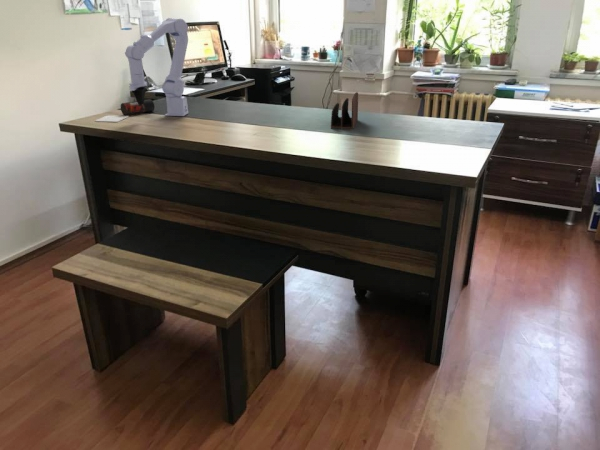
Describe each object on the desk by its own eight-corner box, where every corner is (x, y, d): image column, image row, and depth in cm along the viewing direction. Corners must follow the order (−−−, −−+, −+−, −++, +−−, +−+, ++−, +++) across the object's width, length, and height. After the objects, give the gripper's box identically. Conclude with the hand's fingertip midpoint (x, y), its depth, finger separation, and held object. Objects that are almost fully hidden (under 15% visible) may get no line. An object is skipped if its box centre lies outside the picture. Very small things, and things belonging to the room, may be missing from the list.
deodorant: (123, 117, 243) (151, 113, 253) (128, 112, 238) (155, 108, 248) (119, 106, 243) (146, 102, 253) (123, 101, 238) (151, 97, 248)
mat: (128, 116, 239) (128, 116, 239) (117, 122, 228) (117, 121, 228) (107, 116, 240) (107, 115, 240) (94, 121, 229) (94, 120, 229)
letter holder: (357, 120, 235) (359, 90, 229) (352, 130, 218) (354, 97, 212) (336, 119, 237) (337, 89, 231) (330, 128, 219) (331, 96, 214)
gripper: (135, 71, 231) (139, 101, 236) (121, 75, 217) (125, 106, 223) (149, 71, 230) (153, 101, 235) (136, 76, 217) (140, 107, 222)
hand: (140, 104), depth 229 cm, fingers closed
